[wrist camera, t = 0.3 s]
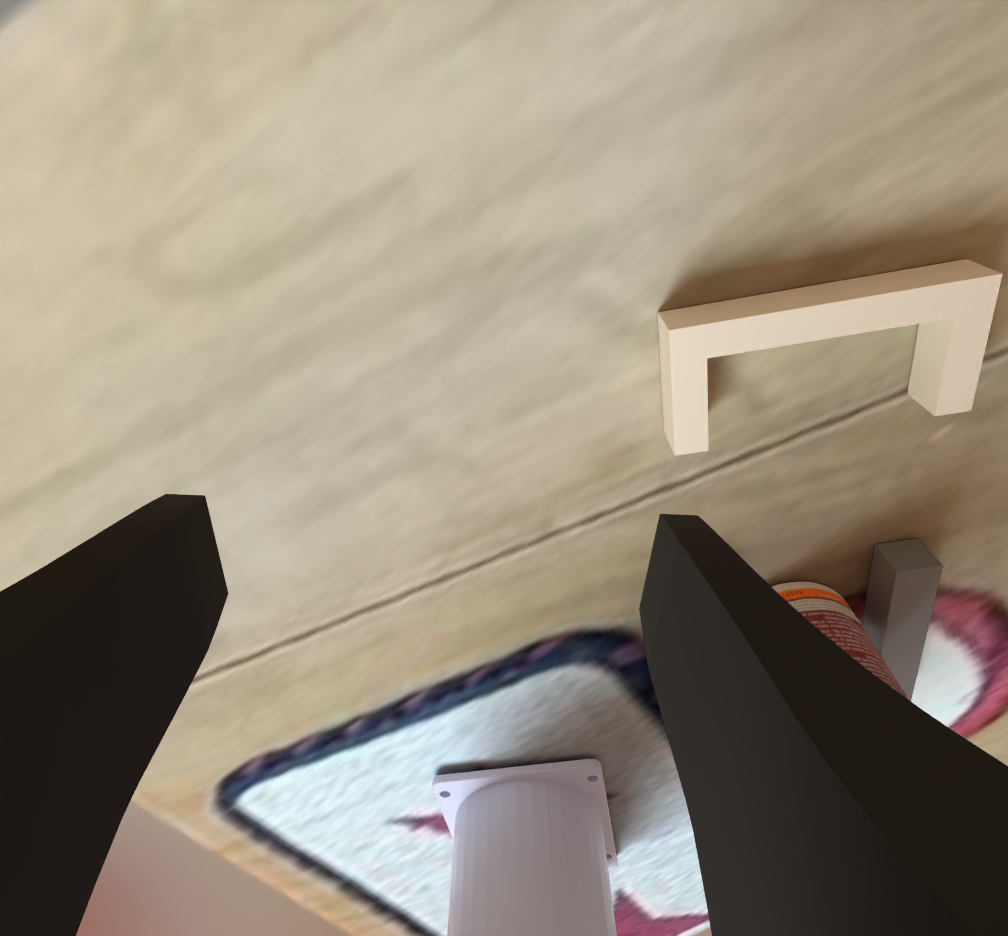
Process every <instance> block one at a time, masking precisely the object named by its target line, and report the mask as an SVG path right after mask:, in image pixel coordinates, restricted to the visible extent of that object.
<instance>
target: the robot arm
mask: <svg viewBox="0 0 1008 936" xmlns="http://www.w3.org/2000/svg"><path fill="white" fill-rule="evenodd" d="M227 596H228V590H227V586H226V582H225V578H224V574H223V569H222V565H221V561H220V557H219V552H218V548H217V544H216V540H215V536H214V531H213V527H212V523H211V519H210V515H209V510H208V506H207V502H206V498H205V496H202V495H177V494H165V495H163V496H161V497H159V498H157V499H155V500H154V501H152V502H150V503H148V504H146V505H145V506H143V507H141V508H140V509H138V510H136V511H134V512H133V513H131V514H129V515H128V516H126V517H124V518H123V519H121V520H120V521H118V522H116V523H115V524H113V525H111V526H110V527H108V528H106V529H105V530H103V531H102V532H100V533H98V534H97V535H95V536H94V537H92V538H90V539H89V540H87V541H85V542H84V543H82V544H80V545H79V546H77V547H75V548H74V549H72V550H71V551H69V552H67V553H66V554H64V555H62V556H61V557H59V558H57V559H56V560H54V561H53V562H51V563H49V564H48V565H46V566H44V567H43V568H41V569H39V570H38V571H36V572H34V573H32V574H31V575H29V576H27V577H25V578H24V579H22V580H20V581H18V582H17V583H15V584H13V585H11V586H10V587H8V588H6V589H4V590H2V591H1V592H0V936H76V934H77V931H78V928H79V926H80V923H81V920H82V918H83V914H84V912H85V910H86V907H87V905H88V901H89V899H90V897H91V894H92V891H93V889H94V886H95V883H96V881H97V879H98V876H99V874H100V871H101V869H102V866H103V864H104V862H105V859H106V856H107V854H108V852H109V849H110V847H111V844H112V842H113V839H114V837H115V834H116V832H117V830H118V827H119V824H120V822H121V820H122V817H123V815H124V813H125V811H126V809H127V807H128V804H129V802H130V800H131V798H132V796H133V794H134V792H135V790H136V788H137V786H138V783H139V782H140V780H141V778H142V776H143V774H144V772H145V770H146V768H147V766H148V764H149V763H150V761H151V759H152V757H153V755H154V753H155V751H156V749H157V747H158V745H159V744H160V742H161V740H162V738H163V736H164V734H165V732H166V730H167V728H168V726H169V725H170V723H171V721H172V719H173V717H174V715H175V713H176V711H177V709H178V708H179V706H180V704H181V702H182V700H183V698H184V696H185V694H186V692H187V690H188V688H189V686H190V685H191V683H192V681H193V679H194V677H195V675H196V673H197V671H198V669H199V667H200V665H201V663H202V661H203V659H204V657H205V655H206V653H207V651H208V649H209V646H210V643H211V641H212V638H213V636H214V633H215V630H216V628H217V625H218V622H219V619H220V616H221V613H222V610H223V607H224V604H225V601H226V599H227ZM639 610H640V617H641V624H642V631H643V638H644V645H645V651H646V657H647V663H648V668H649V672H650V675H651V679H652V683H653V686H654V690H655V693H656V697H657V701H658V704H659V708H660V711H661V715H662V718H663V722H664V725H665V729H666V732H667V736H668V739H669V743H670V746H671V750H672V753H673V757H674V760H675V764H676V767H677V771H678V774H679V778H680V781H681V785H682V788H683V792H684V795H685V799H686V803H687V807H688V811H689V815H690V819H691V823H692V827H693V832H694V837H695V843H696V848H697V853H698V859H699V864H700V870H701V875H702V881H703V886H704V891H705V897H706V902H707V908H708V914H709V920H710V926H711V932H712V936H1008V766H1007V765H1005V764H1003V763H1002V762H1000V761H999V760H997V759H996V758H994V757H993V756H991V755H990V754H988V753H986V752H985V751H983V750H982V749H980V748H979V747H977V746H976V745H974V744H972V743H971V742H969V741H968V740H966V739H965V738H963V737H962V736H960V735H959V734H957V733H955V732H954V731H952V730H951V729H949V728H948V727H946V726H945V725H943V724H942V723H941V722H939V721H938V720H936V719H935V718H933V717H932V716H930V715H929V714H927V713H926V712H925V711H923V710H922V709H920V708H919V707H917V706H916V705H915V704H913V703H912V702H911V701H909V700H908V699H907V698H905V697H904V696H902V695H901V694H900V693H898V692H897V691H896V690H894V689H893V688H892V687H890V686H889V685H888V684H886V683H885V682H883V681H882V680H881V679H879V678H878V677H877V676H875V675H874V674H873V673H871V672H870V671H869V670H867V669H866V668H865V667H864V666H862V665H861V664H860V663H859V662H857V661H856V660H855V659H853V658H852V657H851V656H850V655H848V654H847V653H846V652H845V651H844V650H842V649H841V648H840V647H839V646H838V645H837V644H835V643H834V642H833V641H832V640H831V639H829V638H828V637H827V636H826V635H825V634H824V633H822V632H821V631H820V630H819V629H818V628H816V627H815V626H814V625H813V624H812V623H811V622H809V621H808V620H807V619H806V618H805V617H804V616H803V615H802V614H800V613H799V612H798V611H797V610H796V609H795V608H794V607H793V606H791V605H790V604H789V603H788V602H787V601H786V600H785V599H784V598H783V597H782V596H781V595H780V594H778V593H777V592H776V591H775V590H774V589H773V588H772V587H771V586H770V585H769V584H768V583H767V582H766V581H765V580H764V579H763V578H762V577H761V576H760V575H758V574H757V573H756V572H755V571H754V570H753V569H752V568H751V567H750V566H749V565H748V564H747V563H746V562H745V561H744V560H743V559H742V558H741V557H740V556H739V555H738V554H737V553H736V552H735V551H734V550H733V549H732V548H731V547H730V546H729V545H728V544H727V543H726V542H725V541H724V540H723V539H722V538H721V537H720V536H719V535H718V534H717V533H716V532H715V531H714V530H713V529H712V528H711V527H710V526H709V525H708V524H706V523H705V522H704V521H703V520H702V519H701V518H700V517H699V516H696V515H671V514H660V516H659V521H658V525H657V530H656V534H655V539H654V544H653V548H652V553H651V557H650V562H649V567H648V571H647V576H646V580H645V585H644V590H643V594H642V599H641V603H640V608H639ZM432 789H433V791H434V794H435V796H436V798H437V801H438V803H439V806H440V808H441V811H442V813H443V815H444V818H445V820H446V823H447V825H448V828H449V830H450V832H451V835H452V837H453V840H454V842H453V857H452V873H451V888H450V903H449V919H448V934H447V936H617V934H616V927H615V919H614V911H613V903H612V896H611V888H610V880H609V873H608V871H612V870H615V869H616V868H617V866H618V863H617V856H616V850H615V844H614V838H613V832H612V826H611V820H610V814H609V808H608V802H607V796H606V790H605V784H604V778H603V772H602V766H601V763H600V762H599V761H598V760H596V759H582V760H572V761H563V762H554V763H545V764H535V765H526V766H517V767H508V768H499V769H489V770H480V771H471V772H462V773H452V774H443V775H438V776H436V777H434V779H433V783H432Z"/></svg>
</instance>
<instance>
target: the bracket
mask: <svg viewBox="0 0 1008 936" xmlns="http://www.w3.org/2000/svg"><path fill="white" fill-rule="evenodd" d="M1001 279H1002V273H1000V272H997V271H995V270H992V269H990V268H988V267H985V266H983V265H980V264H978V263H975V262H973V261H971V260H968V259H964V260H958V261H952V262H946V263H941V264H935V265H929V266H923V267H917V268H912V269H906V270H900V271H894V272H888V273H883V274H877V275H871V276H865V277H860V278H854V279H848V280H842V281H836V282H831V283H825V284H819V285H813V286H807V287H802V288H796V289H790V290H784V291H779V292H773V293H767V294H761V295H755V296H750V297H744V298H738V299H732V300H726V301H721V302H715V303H709V304H703V305H697V306H692V307H686V308H680V309H674V310H669V311H663V312H658V327H659V345H660V363H661V381H662V400H663V418H664V432H665V435H666V437H667V439H668V441H669V444H670V446H671V448H672V450H673V453H674V455H675V456H676V455H683V454H690V453H696V452H703V451H708V386H707V358H713V357H719V356H725V355H731V354H737V353H743V352H749V351H756V350H762V349H768V348H774V347H780V346H786V345H792V344H798V343H804V342H810V341H816V340H822V339H828V338H834V337H841V336H847V335H853V334H859V333H865V332H871V331H877V330H883V329H889V328H895V327H901V326H907V325H913V324H919V328H918V334H917V340H916V346H915V352H914V358H913V364H912V370H911V375H910V381H909V387H908V393H907V394H908V395H909V396H910V397H912V398H913V399H914V400H915V401H917V402H918V403H919V404H920V405H921V406H923V407H924V408H925V409H926V410H928V411H929V412H930V413H931V414H933V415H934V416H941V415H947V414H954V413H960V412H967V411H971V409H972V405H973V400H974V396H975V392H976V387H977V383H978V379H979V374H980V370H981V366H982V361H983V357H984V353H985V348H986V344H987V340H988V335H989V331H990V327H991V322H992V318H993V314H994V309H995V305H996V301H997V296H998V292H999V288H1000V283H1001Z"/></svg>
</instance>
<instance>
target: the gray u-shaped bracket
mask: <svg viewBox="0 0 1008 936" xmlns="http://www.w3.org/2000/svg"><path fill="white" fill-rule="evenodd" d="M942 568H943V566H942V564H941V563H940V562H939V561H938V560H937V559H936V558H935V557H934V555H933V554H932V553H931V552H930V551H929V550H928V549H927V547H926V546H925V545H924V544H923V543H922V542H921V541H920V539H919V538H917V539H910V540H903V541H895V542H888V543H880V544H875V547H874V553H873V560H872V566H871V572H870V578H869V585H868V591H867V597H866V603H865V609H864V616H863V622H862V627H863V628H864V630H865V631H866V633H867V634H868V636H869V638H870V639H871V640H872V642H873V644H874V645H875V647H876V648H877V650H878V652H879V653H880V655H881V657H882V658H883V659H884V661H885V663H886V664H887V666H888V667H889V669H890V671H891V672H892V673H893V675H894V677H895V678H896V680H897V681H898V683H899V684H900V686H901V688H902V689H903V691H904V692H905V694H906V695H907V697H908V698H909V700H910V701H911V698H912V694H913V689H914V685H915V681H916V677H917V673H918V668H919V664H920V660H921V656H922V652H923V647H924V643H925V639H926V635H927V631H928V626H929V622H930V618H931V614H932V610H933V605H934V601H935V597H936V593H937V589H938V584H939V580H940V576H941V572H942Z"/></svg>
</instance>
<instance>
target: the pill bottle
mask: <svg viewBox="0 0 1008 936" xmlns="http://www.w3.org/2000/svg"><path fill="white" fill-rule="evenodd" d="M771 587H772V588H773V589H774V590H775V591H776V592H777V593H778V594H780V595H781V596H782V597H783V598H784V599H785V600H786V601H787V602H788V603H789V604H790V605H791V606H793V607H794V608H795V609H796V610H797V611H798V612H799V613H800V614H802V615H803V616H804V617H805V618H806V619H807V620H808V621H809V622H811V623H812V624H813V625H814V626H815V627H816V628H818V629H819V630H820V631H821V632H822V633H824V634H825V635H826V636H827V637H828V638H829V639H831V640H832V641H833V642H834V643H835V644H837V645H838V646H839V647H840V648H841V649H842V650H844V651H845V652H846V653H847V654H848V655H850V656H851V657H852V658H853V659H855V660H856V661H857V662H859V663H860V664H861V665H862V666H864V667H865V668H866V669H867V670H869V671H870V672H871V673H873V674H874V675H875V676H877V677H878V678H879V679H881V680H882V681H883V682H885V683H886V684H888V685H889V686H890V687H892V688H893V689H894V690H896V691H897V692H898V693H900V694H901V695H902V696H904V697H905V698H907V699H908V700H909V698H908V697H907V695H906V694H905V692H904V691H903V689H902V688H901V686H900V684H899V683H898V681H897V680H896V678H895V677H894V675H893V673H892V672H891V671H890V669H889V667H888V666H887V664H886V663H885V661H884V659H883V658H882V657H881V655H880V653H879V652H878V650H877V648H876V647H875V645H874V644H873V642H872V640H871V639H870V638H869V636H868V634H867V633H866V631H865V630H864V628H863V627H862V625H861V623H860V622H859V621H858V619H857V618H856V616H855V614H854V613H853V611H852V610H851V608H850V607H849V605H848V604H847V602H846V601H845V600H844V598H843V597H842V596H841V595H840V594H838V593H837V592H836V591H834V590H833V589H831V588H829V587H827V586H824V585H821V584H817V583H813V582H790V583H783V584H779V585H775V586H771ZM909 701H910V700H909Z"/></svg>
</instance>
